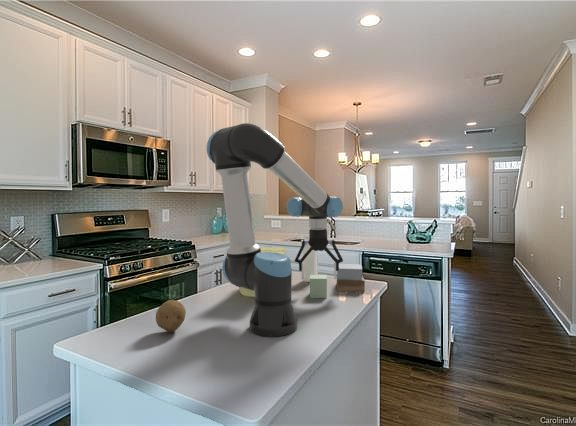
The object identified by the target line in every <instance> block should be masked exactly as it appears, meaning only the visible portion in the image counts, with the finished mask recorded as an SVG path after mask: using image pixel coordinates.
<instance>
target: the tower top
mask: <svg viewBox="0 0 576 426" xmlns="http://www.w3.org/2000/svg"><path fill="white" fill-rule="evenodd" d="M362 276H363V266H362V264H358V263H353V264H352V263H351V264H350V263H339V271H336V281H337V280H362Z"/></svg>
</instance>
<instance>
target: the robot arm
mask: <svg viewBox="0 0 576 426" xmlns="http://www.w3.org/2000/svg"><path fill="white" fill-rule="evenodd" d="M206 154H207V157H208V158H209V160H210V161H211V162H212V163H213V164H214V165H215V166H214V167H215V172H217V173H218V174H219V175H220V177H221V184H222V185H221V186H222V191H223V193H222V194H223V200H224V208H225V214H226V223H227V231H228V239H229V247H227V249H226V256H225V257H224V261H223V262H222V266H221V267H222V268H221V269H222V270H221V271H222V275H223V276H224V278H225V279H226V281H227V282H228V283H229V284H231V285H234V286H236V287H237V288H239V287H243V288H246V289H250V290H253V291H255V297H254V306H253V309H252V312H251V316H250V319H249V331H250V332H251V333H253V334H255V335H257V336H261V337H262V336H263V337H281V336H287V335H290V334H292V333H294V332H295V331H297V328H298V319H297V315H296V314H295V311H294V307H293V304H292V303H293V302H292V277H293V276H292V273H293V271H292V270H293V269H292V263H291V259H290V257H289V256H287V255H286V254H281V253H276V252H275V253H273V252H261V249H260V247H261V246H260V245H259V244H258V243H256V236H255V228H254V221H253V212H252V204H251V196H250V186H249V180H248V172H249V171H250V169H251V168H252V163H256V164H258V165H259V166H260V167H261V168H263V169H264V170H269V171H270V172H272V173H273V174H274V175H275V176H276V177H277V178H278V179H280V180H281V181H282V182H283V183H284V184H285V185H286V186H287V187H288V188H290V189H291V190H292V191H293V193H295V194H297V196H295V197H291V198H289V199H288V200H287V202H286V211H287V213H288V214H289V216H291V217H296V218H297V217H298V218H299V217H308V228H309V230H308V233H309V235H308V237H309V241H306V240H304V239H302V241H301V247H300V248H299V250H298V253H297V254H296V257H295V259H294V262H295V263H298V270H299V271H300V272H301V280H303V279H304V263H303V261H304V259H305V258H306V257H307V256H308V255H309V253H310V252H311V251H312V250H314V251H317V252H319V251H320V252H322V251H325V252H326V253H327V255H328V256H329V257H330V258H331V259H332V260H333V272H334V273H333V277H334V278H333V279H334V280H337V271H339V264H341V263H343V262H344V259H343V256H342V255H341V253H340V251H339V249H338V247H337V246H336V241H335V239H331V240H329V239H328V229H327V228H328V218H337V217H339V216H341V214H342V212H343V209H344V205H343V200H342V198H340V197H338V196H334V195H332V196H330V195H329V193H327V192H326V191H325V190H324V188H322V187H321V186H320V184H318V183H317V182H316V180H314V179H313V178H312V177H311V176H310V175H309V174H308V173H307V172H306V170H304V169H303V168H302V167H301V166H300V165H299V163H297V162H296V160H294V158H293V157H291V156H290V155H289V153H287V152H286V147H285V145H284V144H283V143H282V142H281V141H280V140H278V139H277V138H276V136H274V135H272V133H270V132H269V131H268V130H266V129H265V128H262V127H261V126H259V125H256V124H254V123H249V122H247V123H246V122H245V123H240V124H237V125H233V126H227V127H223V128H221V129H219V130H218V129H217V131H214V132H213V133H212V134H211V135H210V136H209V137H208V139H207V143H206ZM251 162H252V163H251ZM307 243H308V244H309V245H310V246H311V247H310V248H309V250H308V251H307V252H306V253H305V254H304V256H303V255H301V254H303V248H304V246H306V245H307ZM328 244H329V245H330V246H332V249H333V250H334V252H335V254H336V256H335V255H334V254H333V253H332V251H331V250H330V249H329V248H328V247H327V246H328ZM300 256H302V257H301V258H300Z"/></svg>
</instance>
